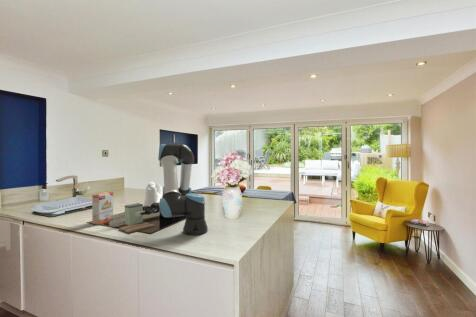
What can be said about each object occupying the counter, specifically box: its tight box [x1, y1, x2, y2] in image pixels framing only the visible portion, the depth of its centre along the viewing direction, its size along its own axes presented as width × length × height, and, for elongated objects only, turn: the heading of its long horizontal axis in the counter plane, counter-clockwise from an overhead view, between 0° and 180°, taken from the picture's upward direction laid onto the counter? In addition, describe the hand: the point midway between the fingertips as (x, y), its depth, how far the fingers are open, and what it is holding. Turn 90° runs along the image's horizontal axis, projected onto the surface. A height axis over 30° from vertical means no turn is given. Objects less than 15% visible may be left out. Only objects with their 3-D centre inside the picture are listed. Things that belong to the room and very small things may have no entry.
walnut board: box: [118, 221, 156, 235], centre depth 158 cm, size 13×18×1 cm
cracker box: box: [91, 191, 114, 226], centre depth 172 cm, size 14×6×21 cm, turn 168°
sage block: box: [124, 202, 144, 226], centre depth 170 cm, size 6×10×13 cm, turn 142°
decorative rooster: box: [143, 181, 163, 206], centre depth 211 cm, size 25×16×25 cm, turn 159°
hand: (130, 213), depth 168 cm, fingers open, 13 cm apart
